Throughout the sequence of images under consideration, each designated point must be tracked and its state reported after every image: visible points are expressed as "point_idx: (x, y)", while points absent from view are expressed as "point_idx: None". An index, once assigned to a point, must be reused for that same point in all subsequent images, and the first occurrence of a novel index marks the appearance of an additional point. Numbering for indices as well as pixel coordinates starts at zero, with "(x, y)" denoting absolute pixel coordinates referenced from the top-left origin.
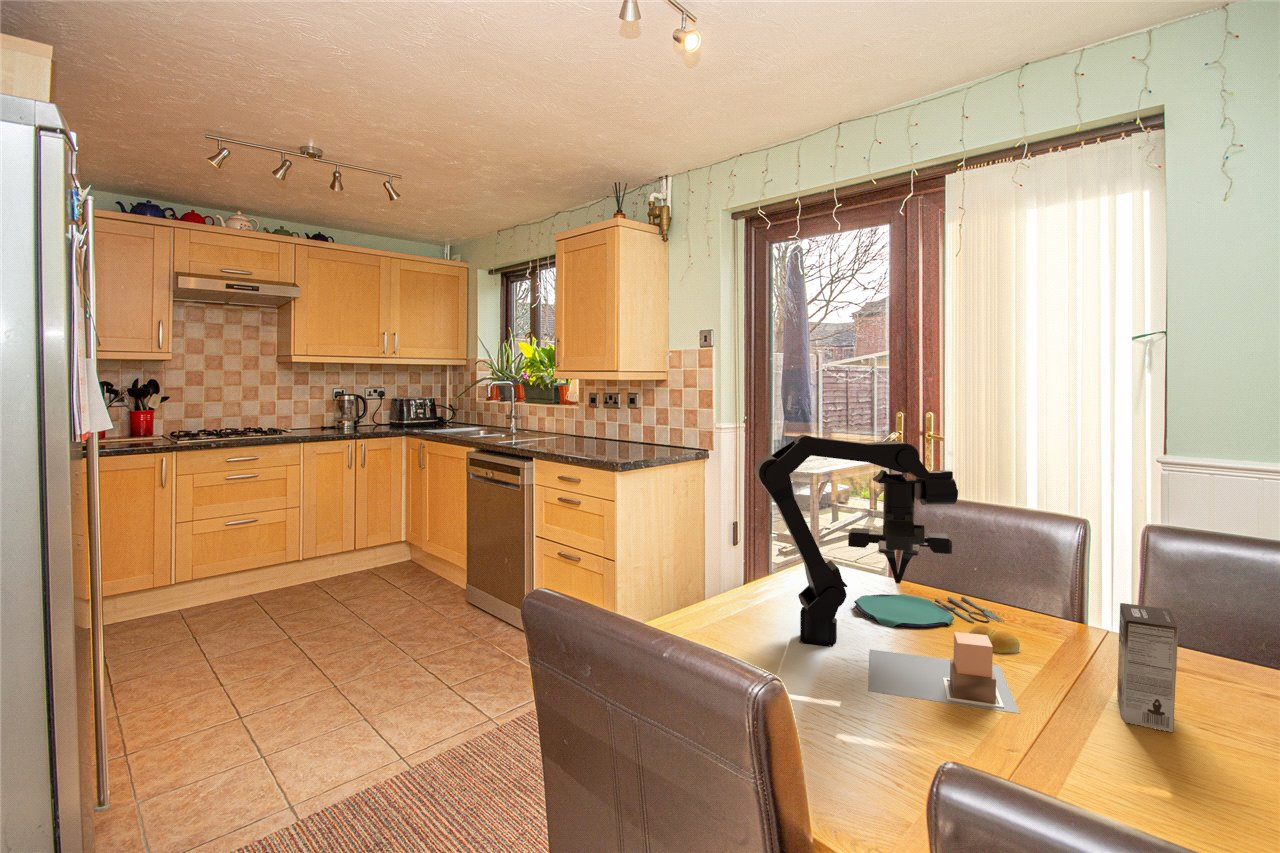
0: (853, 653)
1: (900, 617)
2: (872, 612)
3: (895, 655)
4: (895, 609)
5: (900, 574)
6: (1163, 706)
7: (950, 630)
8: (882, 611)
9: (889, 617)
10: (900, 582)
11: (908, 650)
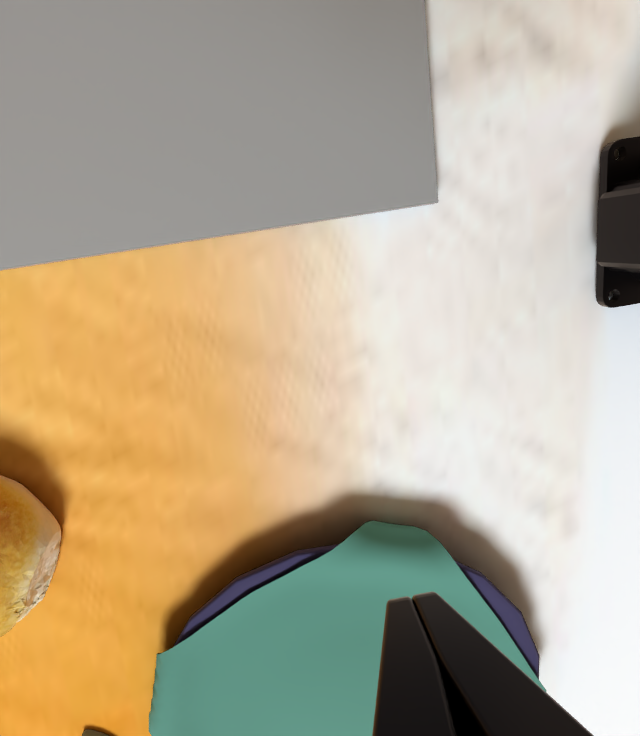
0: (502, 153)
1: (350, 634)
2: None
3: (315, 181)
4: None
5: (418, 701)
6: None
7: (150, 619)
8: None
9: None
10: (386, 609)
11: (273, 318)
